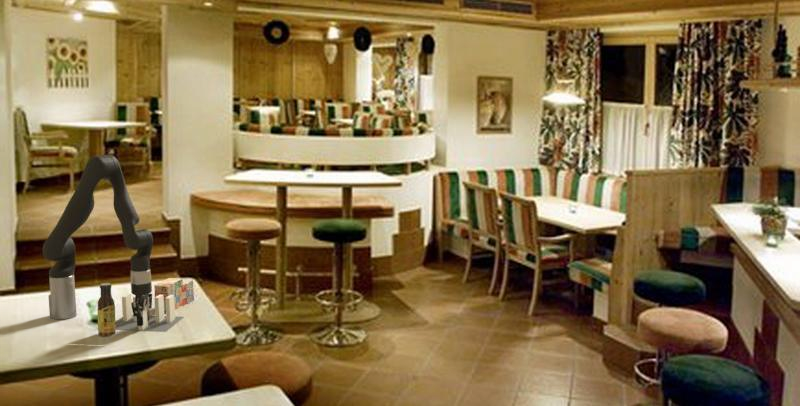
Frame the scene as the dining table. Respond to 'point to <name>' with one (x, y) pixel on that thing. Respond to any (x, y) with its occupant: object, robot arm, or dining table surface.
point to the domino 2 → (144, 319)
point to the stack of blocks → (176, 291)
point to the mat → (152, 324)
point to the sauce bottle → (106, 312)
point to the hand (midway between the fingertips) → (143, 323)
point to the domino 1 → (127, 307)
